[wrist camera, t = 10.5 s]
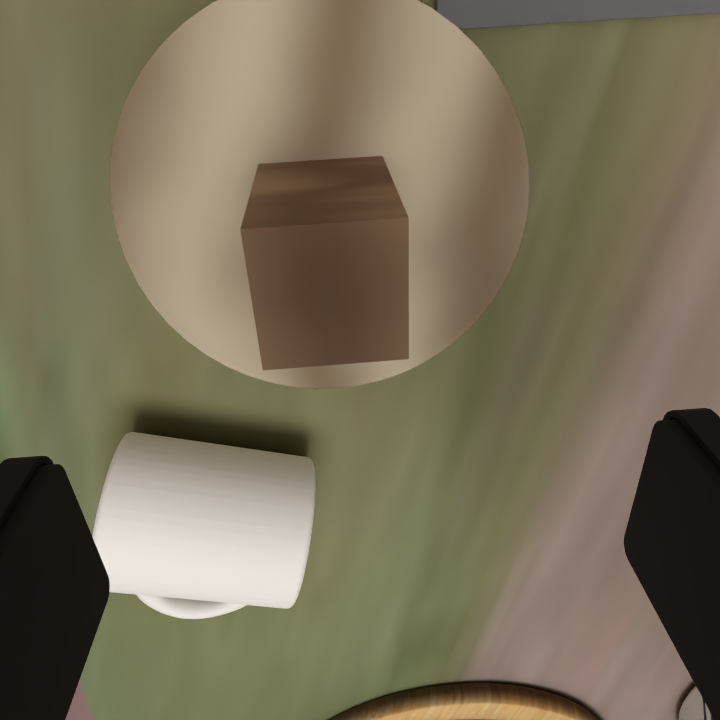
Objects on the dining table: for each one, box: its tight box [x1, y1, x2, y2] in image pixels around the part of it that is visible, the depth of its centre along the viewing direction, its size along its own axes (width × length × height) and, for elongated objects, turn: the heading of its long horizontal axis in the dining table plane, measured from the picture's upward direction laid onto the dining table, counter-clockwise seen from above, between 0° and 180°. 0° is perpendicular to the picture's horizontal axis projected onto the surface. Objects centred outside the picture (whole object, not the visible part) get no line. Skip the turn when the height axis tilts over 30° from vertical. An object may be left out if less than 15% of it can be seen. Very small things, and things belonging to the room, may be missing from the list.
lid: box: [110, 0, 530, 389], centre depth 18 cm, size 14×14×7 cm
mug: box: [92, 432, 315, 619], centre depth 33 cm, size 12×10×8 cm
